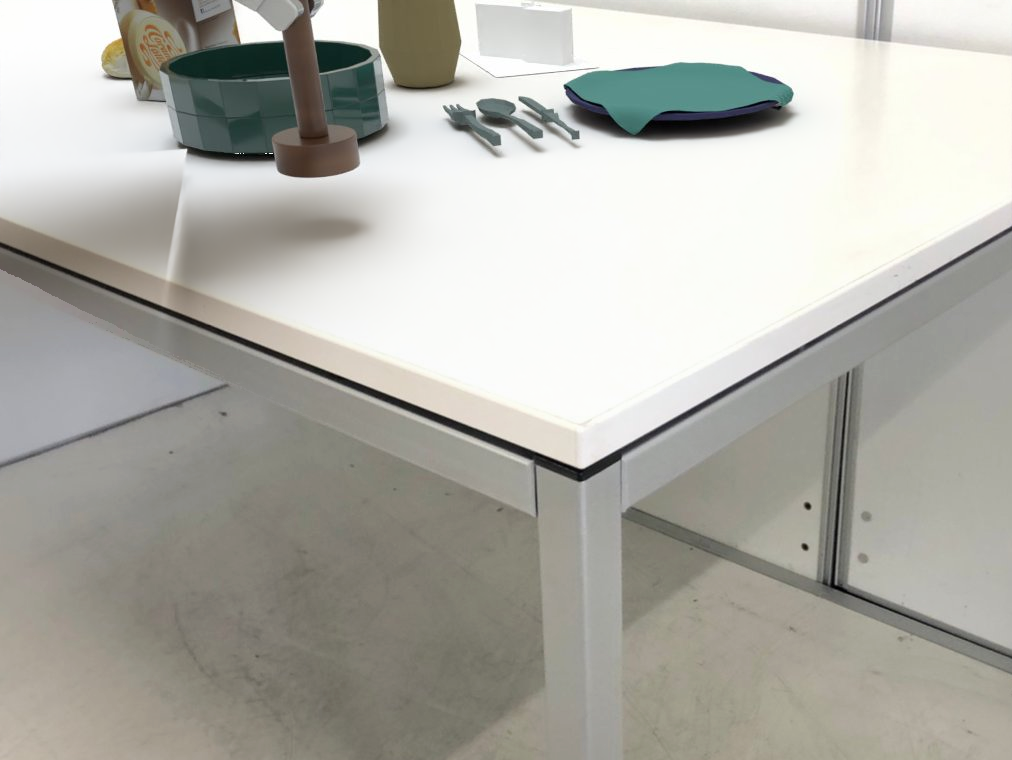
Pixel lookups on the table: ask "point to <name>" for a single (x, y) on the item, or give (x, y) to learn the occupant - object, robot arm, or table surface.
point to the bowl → (267, 93)
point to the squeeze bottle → (419, 41)
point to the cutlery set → (645, 97)
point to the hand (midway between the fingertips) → (304, 16)
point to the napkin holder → (524, 39)
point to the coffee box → (170, 35)
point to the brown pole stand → (310, 115)
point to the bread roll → (115, 60)
